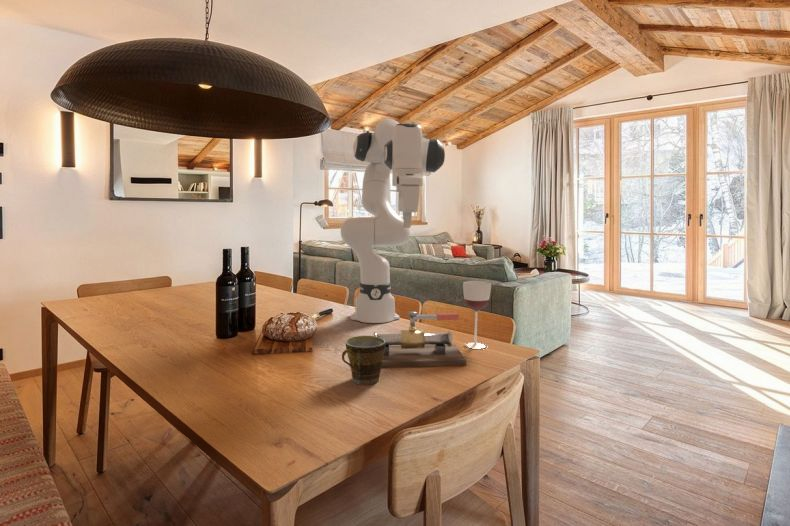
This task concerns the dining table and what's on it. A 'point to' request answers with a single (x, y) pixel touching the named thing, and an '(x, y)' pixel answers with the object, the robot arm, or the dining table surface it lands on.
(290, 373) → the dining table surface
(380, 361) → the ceramic cup
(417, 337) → the pipe valve
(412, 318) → the valve lever
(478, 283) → the wineglass
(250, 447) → the dining table surface
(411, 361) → the walnut board
